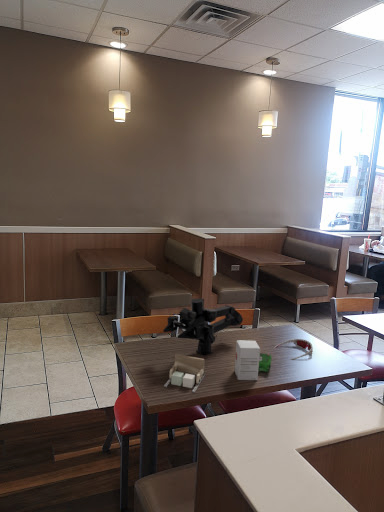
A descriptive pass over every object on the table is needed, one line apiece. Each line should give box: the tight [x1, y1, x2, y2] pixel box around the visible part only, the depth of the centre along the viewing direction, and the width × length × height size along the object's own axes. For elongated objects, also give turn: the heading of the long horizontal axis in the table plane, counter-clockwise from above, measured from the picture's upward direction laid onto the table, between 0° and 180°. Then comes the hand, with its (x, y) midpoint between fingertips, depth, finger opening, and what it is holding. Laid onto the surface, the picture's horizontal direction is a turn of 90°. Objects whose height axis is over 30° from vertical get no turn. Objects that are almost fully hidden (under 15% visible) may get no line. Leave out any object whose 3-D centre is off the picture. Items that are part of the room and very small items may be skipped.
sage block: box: [170, 372, 185, 387], centre depth 168 cm, size 4×4×4 cm
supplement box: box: [234, 339, 261, 381], centre depth 177 cm, size 9×9×15 cm
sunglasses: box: [273, 338, 314, 360], centre depth 207 cm, size 17×17×5 cm
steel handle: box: [163, 371, 205, 393], centre depth 170 cm, size 16×13×1 cm
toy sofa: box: [168, 353, 205, 384], centre depth 172 cm, size 8×14×8 cm, turn 73°
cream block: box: [182, 373, 196, 389], centre depth 167 cm, size 4×4×4 cm
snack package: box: [258, 352, 272, 372], centre depth 187 cm, size 7×16×5 cm, turn 165°
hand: (170, 333), depth 180 cm, fingers open, 9 cm apart
